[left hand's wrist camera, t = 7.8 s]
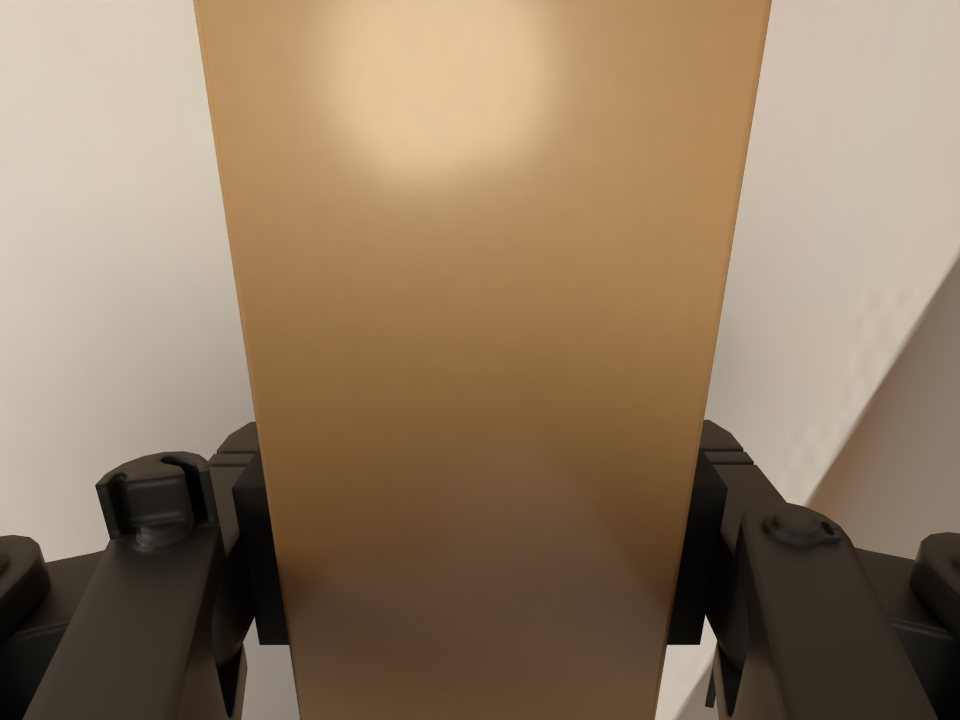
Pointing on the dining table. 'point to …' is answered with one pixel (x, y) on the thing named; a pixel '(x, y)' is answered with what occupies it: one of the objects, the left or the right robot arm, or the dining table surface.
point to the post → (480, 331)
